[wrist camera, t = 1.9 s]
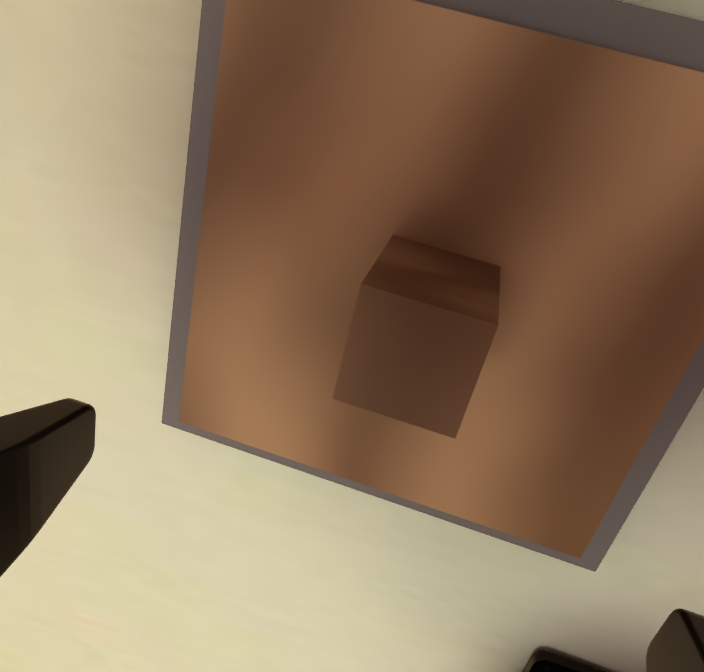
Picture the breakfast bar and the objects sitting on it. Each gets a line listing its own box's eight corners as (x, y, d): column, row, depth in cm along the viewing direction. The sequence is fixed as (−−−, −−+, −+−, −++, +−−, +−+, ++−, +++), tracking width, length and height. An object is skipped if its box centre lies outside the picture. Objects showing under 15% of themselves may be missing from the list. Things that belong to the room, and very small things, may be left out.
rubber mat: (876, 66, 14) (891, 66, 13) (593, 558, 21) (595, 571, 20) (222, -91, 15) (211, -97, 15) (169, 414, 23) (161, 423, 22)
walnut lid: (817, 103, 14) (956, 123, 9) (577, 540, 20) (595, 670, 16) (243, -41, 15) (142, -78, 11) (189, 409, 22) (111, 495, 17)
